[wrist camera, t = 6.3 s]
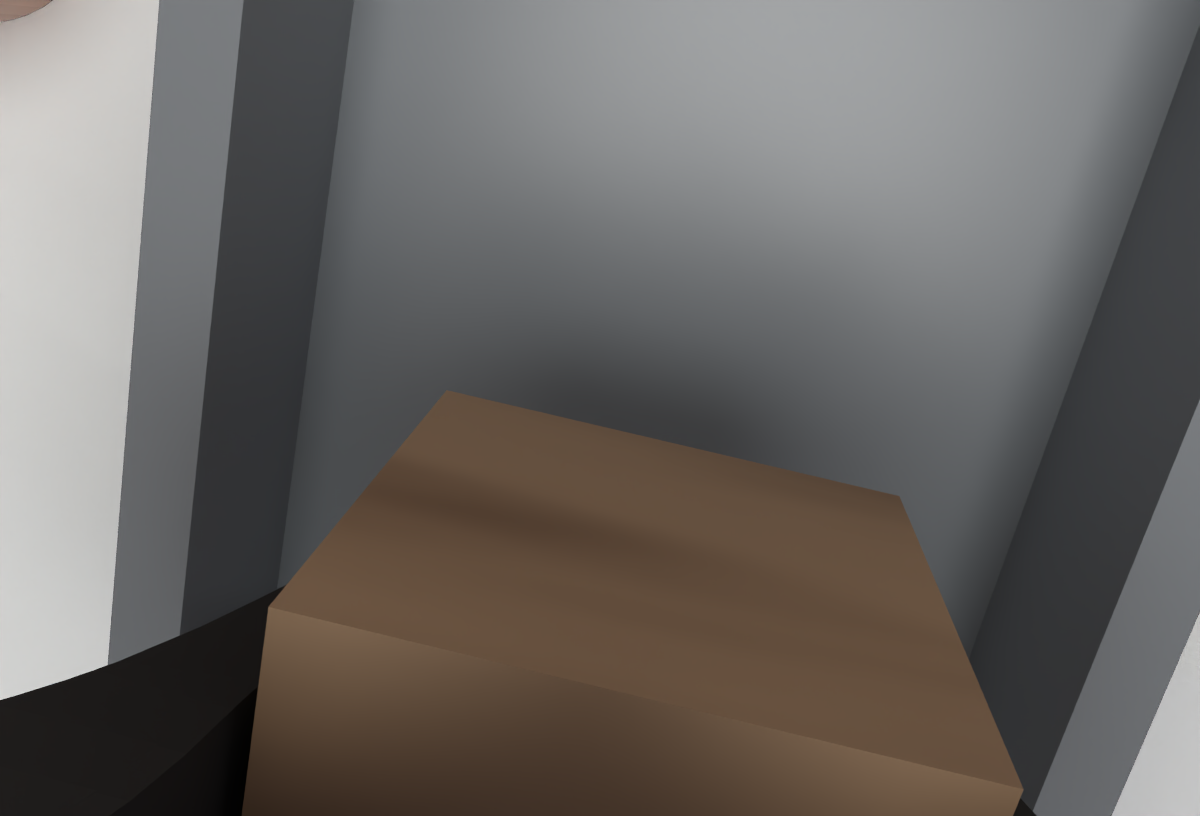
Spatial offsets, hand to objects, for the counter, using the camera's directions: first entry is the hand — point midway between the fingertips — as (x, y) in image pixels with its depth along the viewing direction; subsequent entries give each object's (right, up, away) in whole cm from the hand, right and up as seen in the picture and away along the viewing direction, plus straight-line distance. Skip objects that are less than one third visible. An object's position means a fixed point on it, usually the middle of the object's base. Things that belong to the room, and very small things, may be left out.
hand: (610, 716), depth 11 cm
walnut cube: (0, +1, +1) cm, 1 cm away
